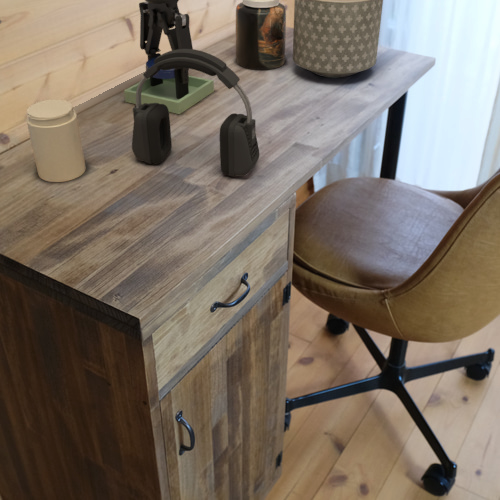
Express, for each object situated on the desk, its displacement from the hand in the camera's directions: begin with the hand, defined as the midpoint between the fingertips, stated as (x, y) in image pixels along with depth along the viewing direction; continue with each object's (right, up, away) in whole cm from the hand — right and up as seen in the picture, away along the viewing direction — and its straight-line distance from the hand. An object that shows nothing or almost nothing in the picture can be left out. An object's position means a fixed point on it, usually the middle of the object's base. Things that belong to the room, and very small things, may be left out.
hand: (169, 90), depth 137 cm
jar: (+20, +11, +18) cm, 29 cm away
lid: (0, +4, -3) cm, 6 cm away
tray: (0, -1, +1) cm, 1 cm away
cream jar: (-15, -20, -26) cm, 36 cm away
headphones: (+8, -19, -24) cm, 31 cm away
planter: (+36, +7, +13) cm, 39 cm away
